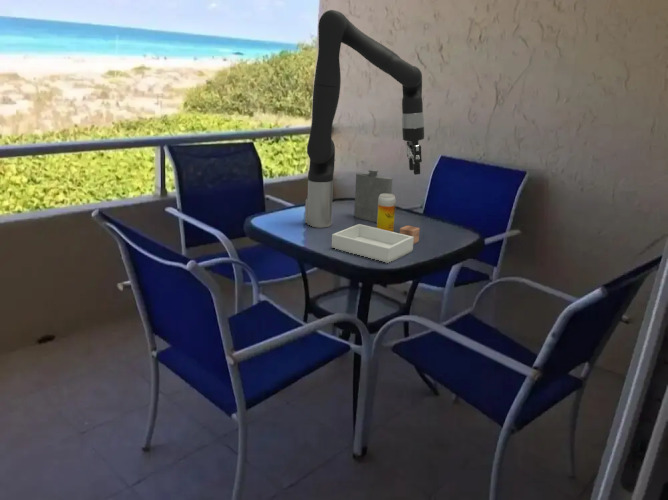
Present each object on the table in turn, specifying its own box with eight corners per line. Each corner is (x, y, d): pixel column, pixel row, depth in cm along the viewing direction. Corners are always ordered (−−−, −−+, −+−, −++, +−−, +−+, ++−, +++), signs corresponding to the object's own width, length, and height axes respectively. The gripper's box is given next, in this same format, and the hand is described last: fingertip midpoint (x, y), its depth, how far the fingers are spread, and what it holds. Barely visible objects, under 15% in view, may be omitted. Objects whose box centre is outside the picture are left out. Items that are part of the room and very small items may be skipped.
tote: (331, 248, 194) (332, 234, 193) (358, 237, 207) (359, 223, 205) (387, 263, 182) (388, 248, 181) (412, 251, 194) (413, 236, 193)
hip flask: (391, 222, 226) (394, 171, 219) (385, 224, 223) (388, 173, 216) (357, 214, 234) (359, 165, 228) (351, 216, 231) (353, 167, 225)
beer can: (392, 239, 206) (394, 197, 201) (375, 237, 207) (377, 196, 202) (393, 233, 212) (396, 193, 207) (377, 232, 213) (379, 192, 208)
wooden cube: (399, 242, 203) (400, 228, 202) (406, 238, 207) (407, 225, 206) (411, 245, 201) (412, 231, 199) (418, 241, 204) (419, 228, 203)
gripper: (399, 124, 209) (400, 169, 214) (405, 129, 195) (407, 176, 200) (419, 123, 209) (421, 167, 214) (428, 127, 195) (429, 174, 200)
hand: (414, 172), depth 207 cm, fingers open, 8 cm apart
